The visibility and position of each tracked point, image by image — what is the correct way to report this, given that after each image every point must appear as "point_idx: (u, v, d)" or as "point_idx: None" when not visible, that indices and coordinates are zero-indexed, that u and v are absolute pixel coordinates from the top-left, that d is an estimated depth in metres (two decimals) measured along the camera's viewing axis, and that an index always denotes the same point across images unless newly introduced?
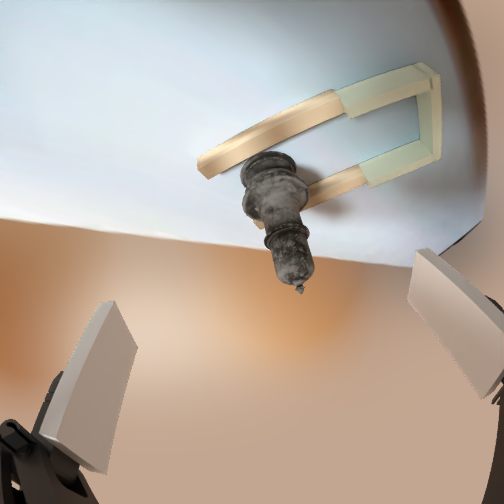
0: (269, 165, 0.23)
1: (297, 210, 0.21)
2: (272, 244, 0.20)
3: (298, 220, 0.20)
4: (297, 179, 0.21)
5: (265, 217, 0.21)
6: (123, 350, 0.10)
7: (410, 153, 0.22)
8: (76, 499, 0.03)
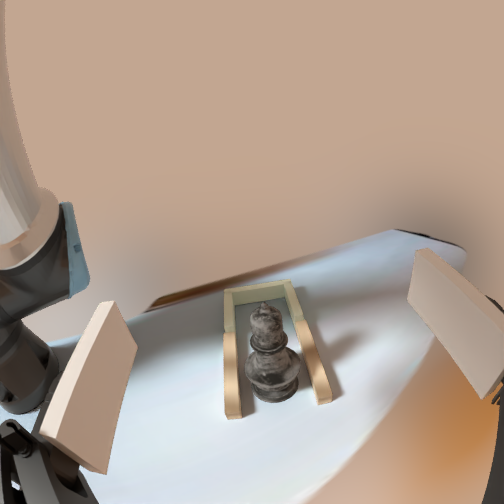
0: None
1: None
2: (257, 343, 0.24)
3: None
4: None
5: (260, 361, 0.25)
6: (123, 350, 0.10)
7: (286, 298, 0.40)
8: (76, 499, 0.03)
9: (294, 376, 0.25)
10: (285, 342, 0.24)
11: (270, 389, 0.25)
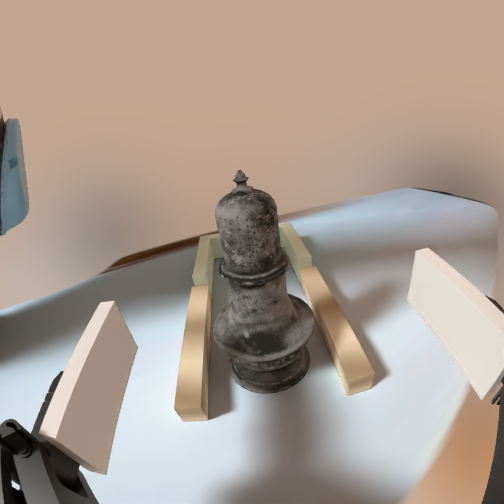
0: None
1: None
2: (230, 263, 0.12)
3: None
4: None
5: (238, 308, 0.14)
6: (123, 350, 0.10)
7: (286, 244, 0.29)
8: (76, 499, 0.03)
9: (304, 339, 0.13)
10: (284, 263, 0.13)
11: (259, 365, 0.13)
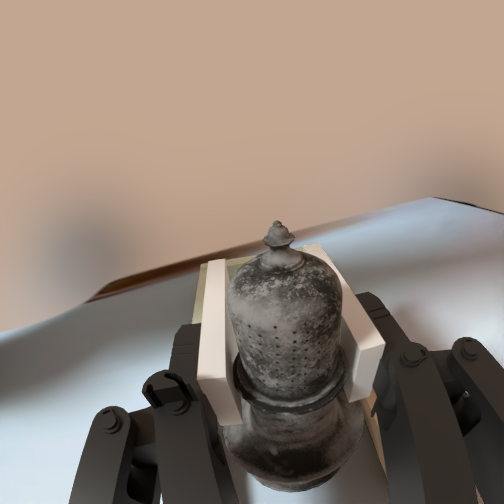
0: None
1: None
2: (255, 381, 0.07)
3: None
4: None
5: (264, 423, 0.08)
6: None
7: None
8: (220, 469, 0.05)
9: (352, 449, 0.08)
10: (342, 371, 0.07)
11: None
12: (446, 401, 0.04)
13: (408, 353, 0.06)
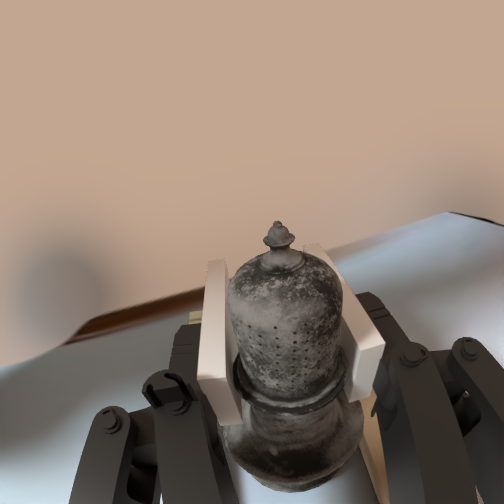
0: None
1: None
2: (255, 381, 0.07)
3: None
4: None
5: (264, 424, 0.08)
6: None
7: None
8: (220, 468, 0.05)
9: (352, 449, 0.08)
10: (342, 371, 0.07)
11: None
12: (446, 401, 0.04)
13: (408, 353, 0.06)
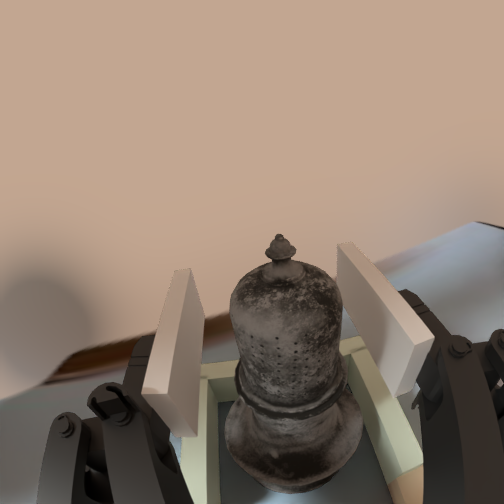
0: None
1: None
2: (256, 388, 0.07)
3: None
4: None
5: (265, 428, 0.08)
6: (198, 315, 0.11)
7: (360, 393, 0.12)
8: (170, 476, 0.05)
9: (351, 452, 0.08)
10: (341, 377, 0.07)
11: None
12: (486, 392, 0.04)
13: (456, 345, 0.05)
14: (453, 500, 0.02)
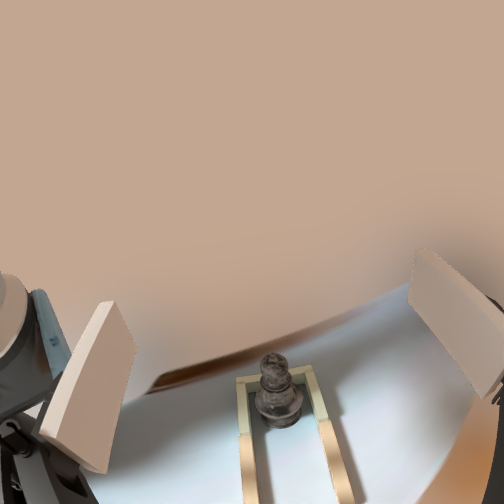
0: None
1: None
2: (266, 384, 0.26)
3: None
4: None
5: (269, 397, 0.27)
6: (123, 350, 0.10)
7: (308, 389, 0.32)
8: (76, 499, 0.03)
9: (298, 408, 0.27)
10: (290, 382, 0.27)
11: (277, 419, 0.27)
12: None
13: None
14: None
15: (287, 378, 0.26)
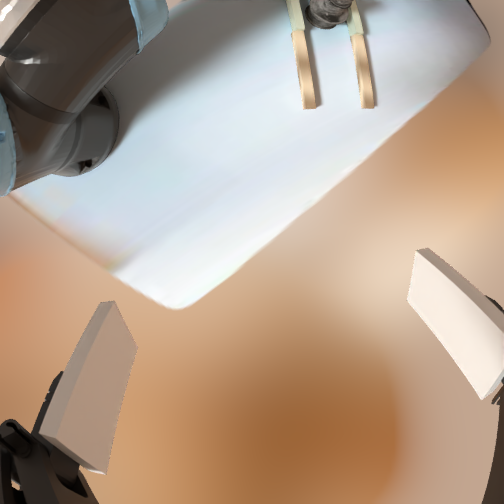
0: None
1: None
2: (334, 0, 0.21)
3: None
4: None
5: (328, 7, 0.23)
6: (123, 350, 0.10)
7: None
8: (76, 499, 0.03)
9: (345, 20, 0.25)
10: (350, 3, 0.21)
11: (326, 23, 0.26)
12: None
13: None
14: None
15: (351, 1, 0.21)
